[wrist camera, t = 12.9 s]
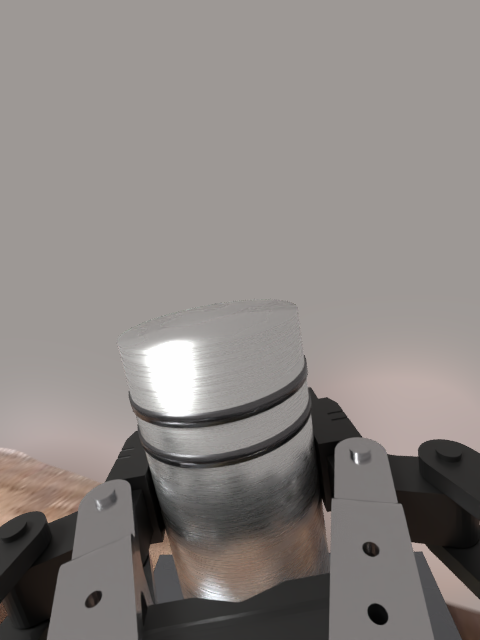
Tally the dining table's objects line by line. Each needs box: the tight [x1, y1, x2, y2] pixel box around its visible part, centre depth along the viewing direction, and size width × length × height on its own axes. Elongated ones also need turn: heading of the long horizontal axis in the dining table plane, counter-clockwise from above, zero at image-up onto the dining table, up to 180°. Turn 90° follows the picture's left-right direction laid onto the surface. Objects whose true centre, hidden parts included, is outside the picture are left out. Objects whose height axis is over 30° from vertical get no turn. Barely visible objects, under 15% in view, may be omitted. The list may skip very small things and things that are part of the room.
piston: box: [117, 299, 330, 602], centre depth 10 cm, size 5×5×12 cm
